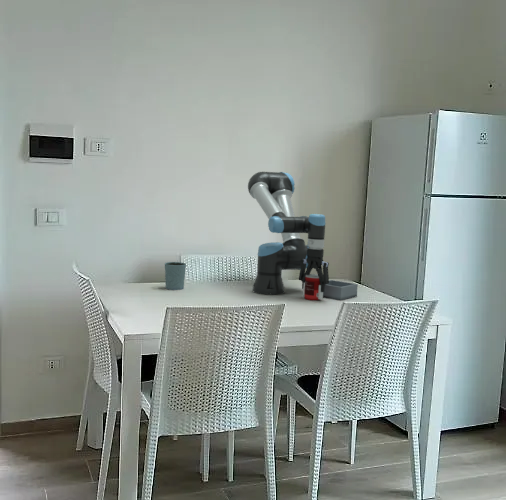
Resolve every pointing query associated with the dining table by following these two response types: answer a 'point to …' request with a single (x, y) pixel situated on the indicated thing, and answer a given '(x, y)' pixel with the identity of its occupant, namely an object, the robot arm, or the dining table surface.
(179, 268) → the blue-grey cup
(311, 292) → the canned food
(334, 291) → the bin
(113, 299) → the dining table surface
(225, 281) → the dining table surface
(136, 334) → the dining table surface
